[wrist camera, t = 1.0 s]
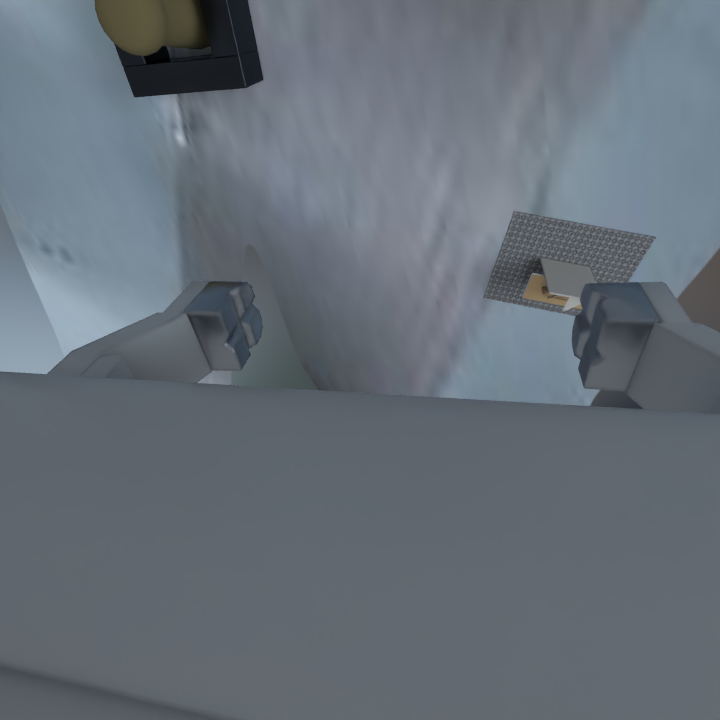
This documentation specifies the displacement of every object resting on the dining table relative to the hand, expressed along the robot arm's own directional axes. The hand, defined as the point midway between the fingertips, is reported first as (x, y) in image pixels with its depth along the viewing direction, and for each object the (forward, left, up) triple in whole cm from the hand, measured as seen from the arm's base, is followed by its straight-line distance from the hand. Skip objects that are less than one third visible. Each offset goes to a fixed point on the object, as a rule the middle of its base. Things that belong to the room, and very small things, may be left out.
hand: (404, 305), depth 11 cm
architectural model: (+20, +13, -39) cm, 46 cm away
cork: (-7, -25, -39) cm, 47 cm away
